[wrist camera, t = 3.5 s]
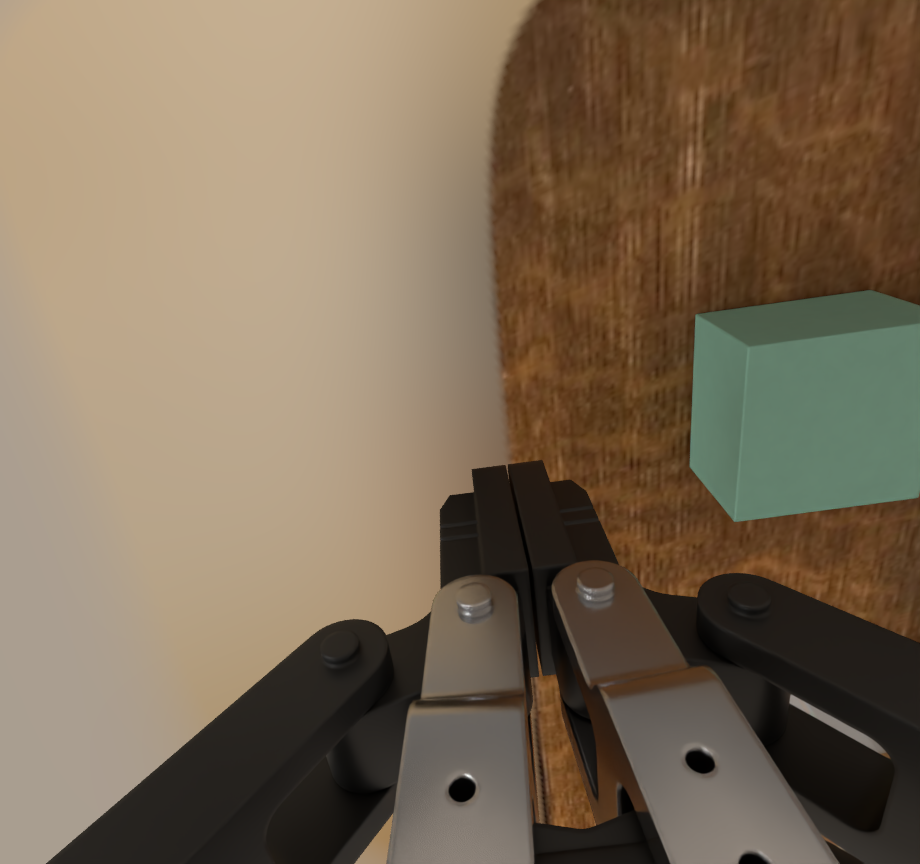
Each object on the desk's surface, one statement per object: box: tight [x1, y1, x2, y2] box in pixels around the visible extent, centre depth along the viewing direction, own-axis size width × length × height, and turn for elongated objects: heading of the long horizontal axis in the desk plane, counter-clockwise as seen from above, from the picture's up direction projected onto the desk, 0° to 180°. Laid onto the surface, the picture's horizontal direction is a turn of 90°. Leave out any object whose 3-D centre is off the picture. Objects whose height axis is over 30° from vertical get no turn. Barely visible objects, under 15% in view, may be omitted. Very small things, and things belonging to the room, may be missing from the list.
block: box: [690, 290, 920, 522], centre depth 15 cm, size 4×4×3 cm
